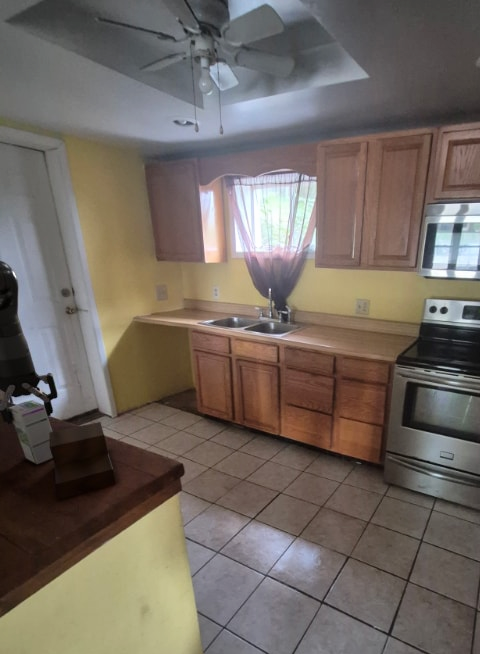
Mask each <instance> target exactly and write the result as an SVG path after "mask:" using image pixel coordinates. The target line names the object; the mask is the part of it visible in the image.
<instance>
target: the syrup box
mask: <svg viewBox="0 0 480 654" xmlns="http://www.w3.org/2000/svg"><path fill="white" fill-rule="evenodd" d="M8 408H9V411H10V414H11V417H12V424H13V426H14V428H15V432H16V435H17V438H18V440H19V443H20V447H21V449H22V452H23V455H24V458H25V459H26V460H28V461H30V462H31V463H34V464H35V465H39V464H42V463H44V462H47V461H49V460H52V459H53V457H52V454H51V450H50V432H53V428H52V425H51V423H50V419H49V416H47V413H46V409H45V406H44V403H40V402H38V401H36V400H28V401H24V402H21V403H17V404H15V405H12V406H10V407H9V406H8Z"/></svg>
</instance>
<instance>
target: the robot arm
mask: <svg viewBox="0 0 480 654" xmlns="http://www.w3.org/2000/svg"><path fill="white" fill-rule="evenodd" d="M20 321H21V320H20V318H19V280H18V277H17V273H16V272H15V271H14V269H13V268H12V267H11V266H10V265H9V264H8V263H6V262H5V261H3V260H0V391H1V392H3V395H2V398H1V400H0V415H1V417H2V420H3V422H4V423H7V424H8V425H11V424H13V420H12V417H11V414H10V411H9V406H7V405H8V403H9V402H10V400H11V398H14V399H15V398H20V397H24V396H26V397H27V396H31V395H33V396H35V397H36V398H38V399H40V400H42V402H43V405H44V406H45V409H46V413H47V416H48V417H51V416H52V414H53V413H54V408H53V404H52V400H54V399H55V400H56V399H57V398H58V396H59V395H58V390H57V387H56V382H55V378H54V375H53V373H52V372H48V373H47V374H42V375H39V374H38V373H37V371H36V367H35V365H34V361H33V357H32V355H31V351H30V347H29V344H28V343H29V342H28V341H27V338H26V336H25V335H24V331H23V327H22V325H21V322H20ZM41 381H42V382H43V383H44V384H45V385H48V389H49V391H50V392H49V393H46V392H45V391H43V388H41V387H39V386H38V385H39V384H40V382H41Z"/></svg>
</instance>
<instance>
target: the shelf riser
mask: <svg viewBox="0 0 480 654" xmlns="http://www.w3.org/2000/svg"><path fill="white" fill-rule="evenodd" d="M50 450H51V454H52V457H53V458H52V461H53V464H54V473H55V487H56V490H57V493H58V496H59V499H60V500H64V499H67V498H70V497H73V496H77V495H82V494H84V493H87V492H91V491H94V490H98V489H102V488H105V487H109V486H112V485H115V484H117V482H116V477H115V473H114V472H115V471H114V469H113V465H112V461H111V458H110V454H109V450H108V446H107V441H106V438H105V433H104V429H103V426H102V422H101V421H97V422H93V423H88V424H83V425H78V426H74V427H69V428H64V429H58V430H54V431H52V432H50Z"/></svg>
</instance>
